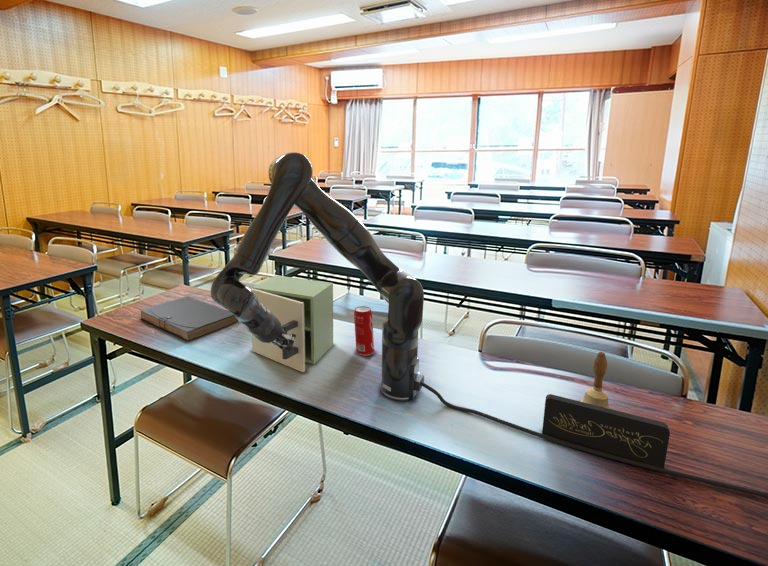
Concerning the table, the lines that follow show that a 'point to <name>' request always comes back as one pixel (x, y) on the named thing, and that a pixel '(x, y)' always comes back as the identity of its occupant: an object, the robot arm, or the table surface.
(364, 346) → the beverage can
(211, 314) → the file folder
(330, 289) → the cupboard
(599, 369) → the hand bell
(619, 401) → the table surface
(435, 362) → the table surface
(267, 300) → the door
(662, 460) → the nameplate
